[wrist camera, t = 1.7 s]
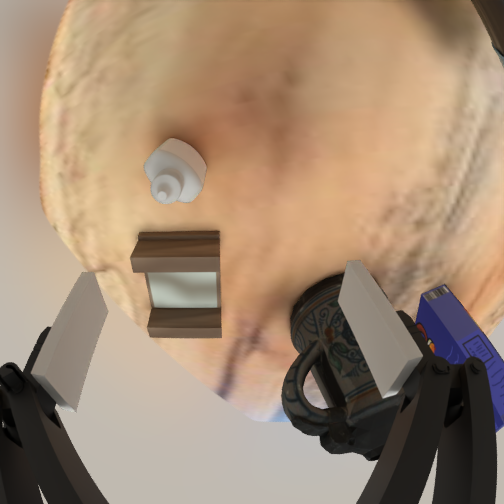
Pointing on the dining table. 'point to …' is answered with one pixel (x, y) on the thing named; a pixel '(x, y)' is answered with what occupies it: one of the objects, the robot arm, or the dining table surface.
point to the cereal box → (460, 340)
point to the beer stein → (335, 378)
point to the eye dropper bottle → (175, 172)
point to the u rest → (181, 282)
